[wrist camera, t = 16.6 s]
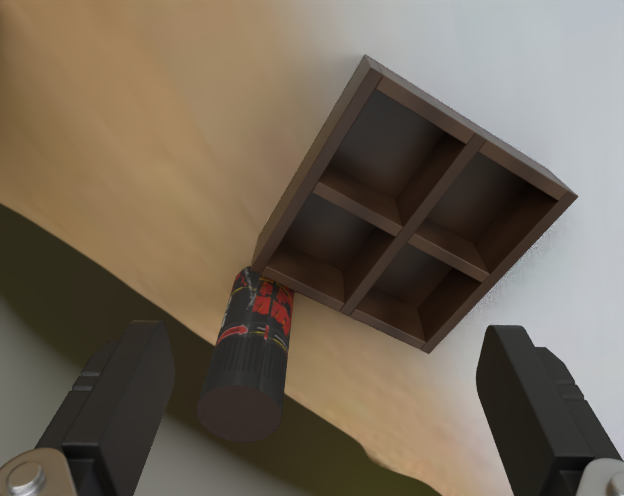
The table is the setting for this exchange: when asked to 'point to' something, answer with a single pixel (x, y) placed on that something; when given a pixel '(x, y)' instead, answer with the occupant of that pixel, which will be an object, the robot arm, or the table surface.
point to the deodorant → (249, 361)
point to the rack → (405, 211)
